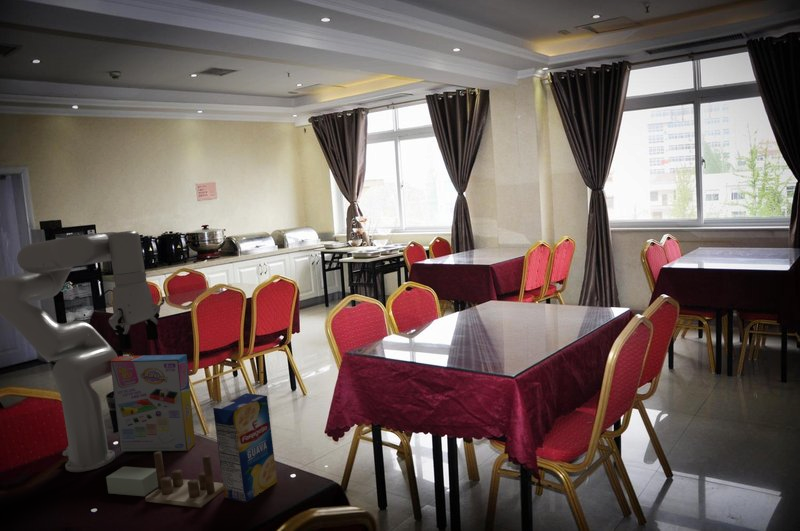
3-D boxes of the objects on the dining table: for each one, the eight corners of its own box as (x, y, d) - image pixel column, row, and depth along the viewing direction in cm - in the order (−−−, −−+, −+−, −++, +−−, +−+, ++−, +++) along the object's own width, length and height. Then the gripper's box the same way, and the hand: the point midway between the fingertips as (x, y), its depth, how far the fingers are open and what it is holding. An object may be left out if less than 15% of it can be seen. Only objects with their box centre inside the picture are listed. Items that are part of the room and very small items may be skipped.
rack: (145, 501, 149) (139, 461, 147) (173, 482, 158) (168, 444, 157) (201, 507, 143) (195, 466, 142) (227, 487, 152) (222, 448, 151)
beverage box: (224, 497, 147) (212, 408, 144) (256, 477, 156) (246, 393, 154) (245, 502, 143) (233, 411, 141) (277, 481, 153) (267, 395, 150)
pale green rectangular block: (108, 494, 155) (106, 477, 154) (125, 483, 161) (123, 466, 160) (144, 497, 151) (142, 479, 151) (161, 485, 157) (158, 468, 157)
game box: (196, 444, 182) (188, 354, 179) (188, 452, 177) (179, 359, 173) (128, 444, 184) (119, 355, 181) (118, 452, 179) (109, 360, 176)
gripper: (142, 275, 169) (151, 336, 171) (92, 285, 153) (103, 353, 155) (165, 273, 167) (174, 335, 169) (116, 284, 151) (127, 352, 152)
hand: (140, 344), depth 162 cm, fingers open, 9 cm apart
